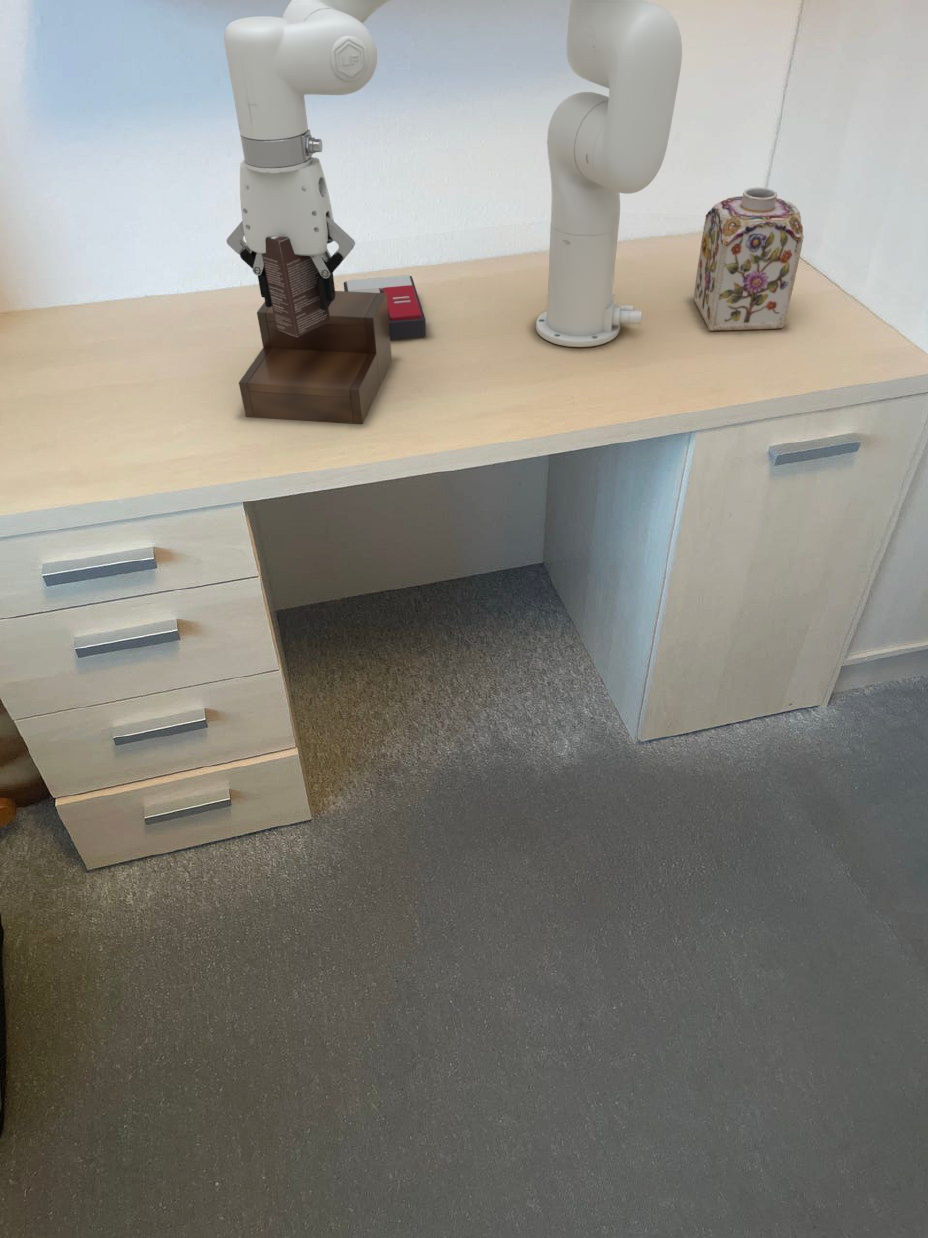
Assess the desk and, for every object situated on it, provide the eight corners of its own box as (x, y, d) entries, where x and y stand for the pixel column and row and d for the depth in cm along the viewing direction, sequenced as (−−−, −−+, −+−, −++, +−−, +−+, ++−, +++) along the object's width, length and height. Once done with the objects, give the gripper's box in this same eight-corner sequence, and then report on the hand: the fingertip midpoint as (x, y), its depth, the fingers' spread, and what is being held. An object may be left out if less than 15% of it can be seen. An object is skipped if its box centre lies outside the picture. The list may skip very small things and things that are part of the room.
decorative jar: (764, 297, 145) (789, 177, 133) (785, 329, 136) (814, 204, 124) (690, 299, 145) (708, 179, 132) (706, 332, 136) (727, 207, 124)
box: (307, 313, 119) (294, 218, 111) (331, 322, 117) (319, 226, 108) (272, 329, 115) (256, 232, 107) (296, 339, 113) (281, 241, 105)
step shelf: (391, 360, 132) (386, 292, 125) (362, 424, 119) (354, 352, 112) (286, 354, 134) (275, 287, 127) (245, 416, 121) (230, 346, 114)
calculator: (351, 321, 133) (342, 276, 143) (354, 348, 136) (345, 302, 146) (425, 314, 134) (411, 270, 145) (426, 341, 137) (412, 295, 148)
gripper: (359, 141, 104) (373, 294, 116) (215, 137, 106) (243, 288, 118) (343, 161, 98) (359, 320, 110) (191, 157, 100) (223, 313, 112)
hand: (299, 302), depth 114 cm, fingers closed on box, 6 cm apart
